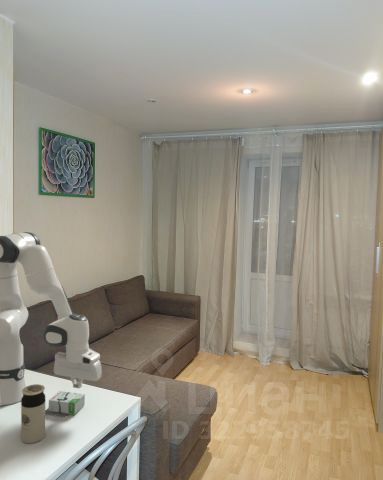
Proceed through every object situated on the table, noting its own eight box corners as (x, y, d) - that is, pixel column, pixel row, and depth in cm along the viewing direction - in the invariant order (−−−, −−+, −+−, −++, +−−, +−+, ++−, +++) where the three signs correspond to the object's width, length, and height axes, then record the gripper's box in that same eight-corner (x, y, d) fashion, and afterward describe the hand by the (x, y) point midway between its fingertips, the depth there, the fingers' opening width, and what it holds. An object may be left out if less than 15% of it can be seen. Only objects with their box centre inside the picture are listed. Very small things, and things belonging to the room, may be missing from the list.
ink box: (74, 403, 149) (47, 400, 152) (74, 415, 150) (47, 411, 152) (85, 393, 158) (59, 390, 160) (85, 404, 158) (59, 401, 160)
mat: (42, 413, 151) (42, 412, 151) (61, 397, 164) (61, 397, 164) (64, 417, 149) (64, 416, 149) (82, 401, 161) (82, 400, 161)
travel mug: (38, 427, 141) (38, 381, 140) (49, 436, 136) (49, 388, 135) (17, 437, 135) (17, 389, 134) (28, 446, 130) (28, 396, 129)
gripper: (50, 354, 152) (50, 386, 153) (95, 361, 147) (95, 395, 148) (59, 348, 158) (59, 380, 159) (103, 355, 153) (103, 387, 154)
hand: (77, 387), depth 154 cm, fingers closed
